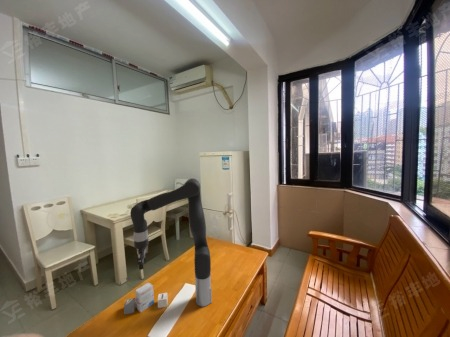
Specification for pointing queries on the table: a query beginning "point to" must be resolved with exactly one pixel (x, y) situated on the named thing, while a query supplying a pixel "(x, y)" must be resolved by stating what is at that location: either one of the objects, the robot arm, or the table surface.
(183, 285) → the table surface
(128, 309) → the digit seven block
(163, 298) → the digit one block
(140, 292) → the ink box
